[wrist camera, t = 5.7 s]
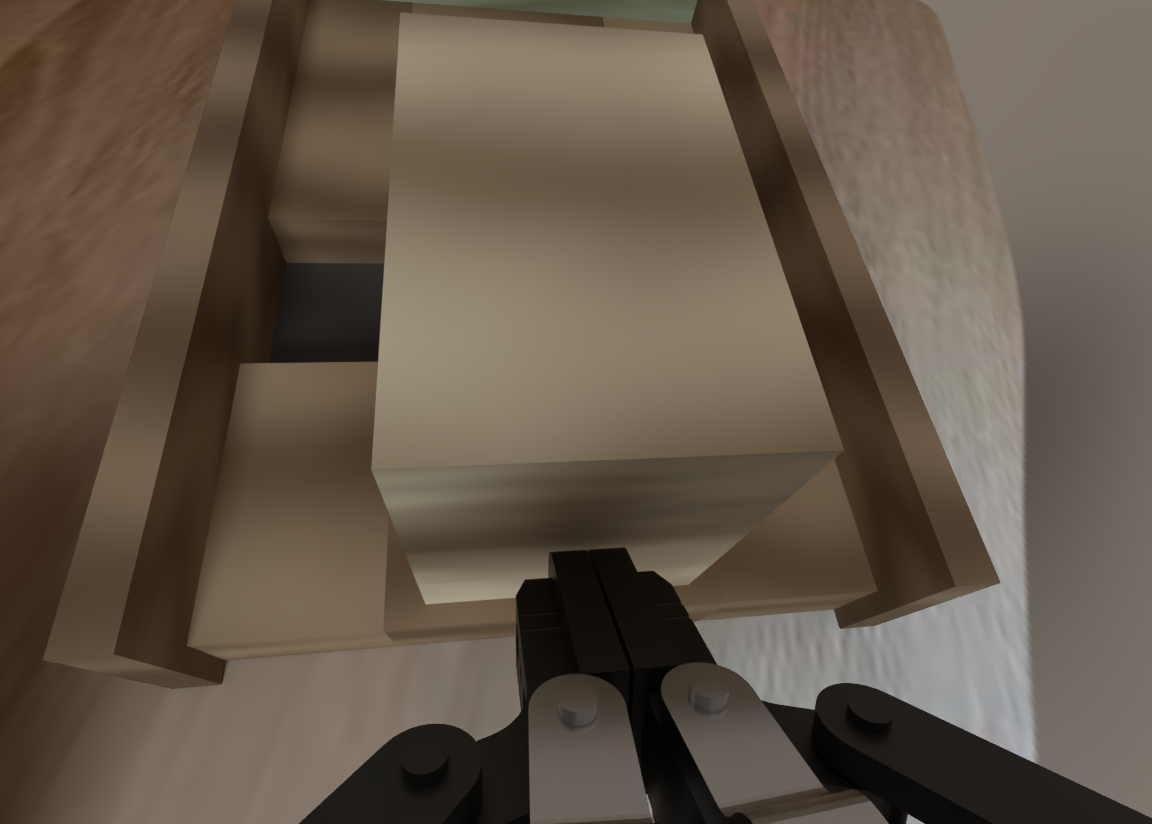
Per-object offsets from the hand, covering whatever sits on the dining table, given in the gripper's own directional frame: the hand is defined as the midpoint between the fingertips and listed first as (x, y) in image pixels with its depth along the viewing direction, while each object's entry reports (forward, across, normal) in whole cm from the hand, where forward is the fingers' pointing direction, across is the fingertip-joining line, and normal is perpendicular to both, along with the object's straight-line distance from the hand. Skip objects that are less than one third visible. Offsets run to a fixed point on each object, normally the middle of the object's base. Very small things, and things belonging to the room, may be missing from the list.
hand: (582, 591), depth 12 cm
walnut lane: (+15, 0, -5) cm, 16 cm away
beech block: (+8, 0, -2) cm, 8 cm away
